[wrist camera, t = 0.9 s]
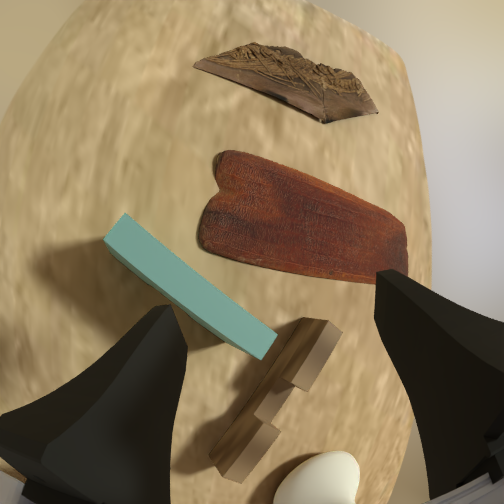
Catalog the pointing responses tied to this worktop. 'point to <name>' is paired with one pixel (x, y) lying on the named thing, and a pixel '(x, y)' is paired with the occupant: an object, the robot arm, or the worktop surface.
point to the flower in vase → (321, 481)
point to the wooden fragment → (293, 80)
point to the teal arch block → (187, 288)
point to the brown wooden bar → (274, 398)
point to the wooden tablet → (298, 223)
